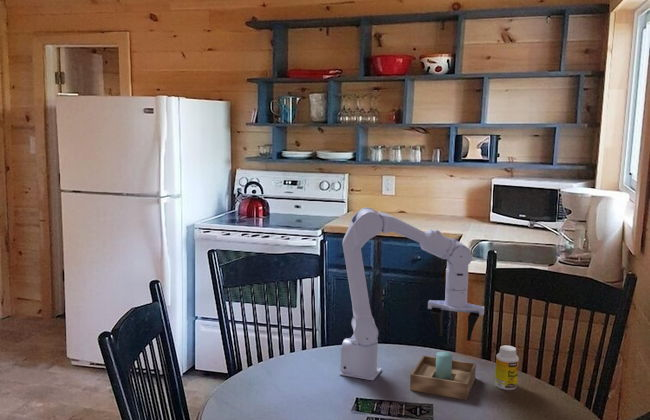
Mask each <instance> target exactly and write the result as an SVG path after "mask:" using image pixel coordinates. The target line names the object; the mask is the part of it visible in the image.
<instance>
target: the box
mask: <svg viewBox="0 0 650 420" xmlns="http://www.w3.org/2000/svg"><path fill="white" fill-rule="evenodd" d="M476 369H477V365H476V363H474V362H469V361H462V360H457V359H456V360H455V359H452V373H451V381H450V380H444V379H439V378H435V375H436V356H430V355H422V356H421V358H420V359H419V361H418V362H417V364H416V366H414V368H413V370H412V372H411V373H410V375H409V376H410V380H409V381H410V382H409V383H410V384H409V390H410V391H414V392H420V393H421V392H422V393H425V394H426V393H427V394H431V395H438V396H443V397H449V398H454V399H458V400H459V399H460V400H464V401H466V400H468V397H469V395H470V392H471V389H472V387H473V385H474V382H475V380H476V372H477V371H476Z"/></svg>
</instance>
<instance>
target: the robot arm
mask: <svg viewBox="0 0 650 420" xmlns="http://www.w3.org/2000/svg"><path fill="white" fill-rule="evenodd" d="M380 233H382V234H389V233H395V234H398V235H400V236H403V237H405V238H407V239H410V240H412V241H415V242H416V243H419V246H420V248H421V250H422V251H425V252H427V253H429V254H431V255H433V256H436V257H437V258H440V259H442V260H446V271H445V290H444V291H445V295H444V296H445V298H444V300H436V299H435V300H432V299H429V300H428V301H427V310H431V311H430V314H431V317H432V319H433V320H434V324H435V327H436V331H437V336H438V337H442V336H443V320H444V319H443V318H444V317H443V316H444V311H451V312H457V313H466V314H468V316H467V336H466V341H469V342H470V341H471V340H472V334H473V331H474V327H475V326H476V324H477V321H478V319H479V317H480V316H484V315H485V306H484V305H483V306H482V305H477V304H472V303H469V302H468V290H469V289H468V288H469V265H470V264H471V262H472V260H473V256H472V253H471V250H470V248H468V247H467V246H466V245H465V244H463V243H462V242H460V241H459V240H457V238H454V237H452V238H450V237H448V236H446V235H443V234H442V232H441V231H440V230H439V229H434V230H433V229H428V230H425V231H423V230H422V229H419V228H417V227H415V226H413V225H412V224H409V223H407V222H405V221H403V220H402V219H399V218H398V217H395V216H393V215H391V214H389V213H385V212H383V211H378V210H377V211H376V210H375V209H374V208H371V207H363V208H361V209H359V210H358V211H356V213H355V214H354V215H353V216H352V217H351V220H350V223H349V224H348V227H347V230H346V232H345V234H344V237H343V239H342V250H343V256H344V261H345V266H346V273H347V274H346V276H347V282H348V285H349V294H350V299H351V305H352V315H353V316H352V318H351V322H350V323H351V328H352V330H353V334H352V335H351V337H349V338H347V337H346V338H344V339H343V341H342V344H341V347H340V372H339V375H340V376H344V377H350V378H355V379H356V378H357V379H363V380H366V381H367V380H368V381H374V380H375V379H376V378H377V377H378V376H379V374H380V373H381V371H382V370H383V368H382V367H378V346H379V343H378V342H379V339H378V337H379V329H378V327H377V326H376V323H375V319H374V316H373V314H372V309H371V305H370V298H369V293H368V292H369V291H368V286H367V285H368V284H367V280H366V273H365V266H364V260H363V254H362V248H363V247H364V246H365V244H366V243H367V242H368V241H369V240H370V239H373V238H374V237H376V236H378V234H380Z"/></svg>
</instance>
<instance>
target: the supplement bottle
mask: <svg viewBox="0 0 650 420" xmlns="http://www.w3.org/2000/svg"><path fill="white" fill-rule="evenodd" d="M495 356H496V358H495V372H494V385H495V387H497V388H499V389H500V390H504V391H513V390H515V389H517V387H518V380H519V379H518V377H519V376H518V375H519V365H520V363H519V362H520V358H519V356H518V354H517V349H516V347H514V346H512V345H501V346H500V347H499V352H498V353H497V354H496V355H495Z"/></svg>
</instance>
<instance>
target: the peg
mask: <svg viewBox="0 0 650 420" xmlns="http://www.w3.org/2000/svg"><path fill="white" fill-rule="evenodd" d="M435 357H436V375H435V378H439V379H444V380H450V381H451V373H452V360H453V354H452V353H451V352H448V351H438V352H436V353H435Z"/></svg>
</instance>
